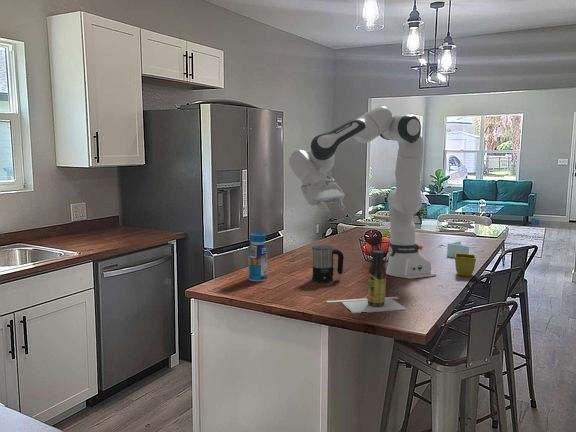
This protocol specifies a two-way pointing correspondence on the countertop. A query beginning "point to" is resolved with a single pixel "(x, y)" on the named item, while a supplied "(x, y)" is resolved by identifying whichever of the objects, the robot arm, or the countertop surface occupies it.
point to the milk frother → (325, 263)
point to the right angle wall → (456, 249)
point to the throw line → (357, 300)
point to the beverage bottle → (257, 258)
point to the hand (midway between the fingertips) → (335, 210)
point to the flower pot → (465, 264)
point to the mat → (365, 307)
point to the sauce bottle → (377, 280)
